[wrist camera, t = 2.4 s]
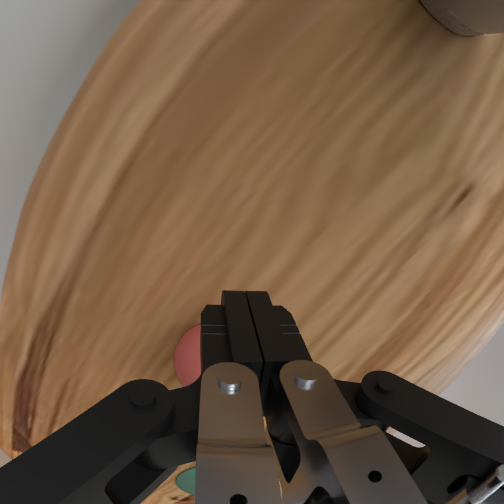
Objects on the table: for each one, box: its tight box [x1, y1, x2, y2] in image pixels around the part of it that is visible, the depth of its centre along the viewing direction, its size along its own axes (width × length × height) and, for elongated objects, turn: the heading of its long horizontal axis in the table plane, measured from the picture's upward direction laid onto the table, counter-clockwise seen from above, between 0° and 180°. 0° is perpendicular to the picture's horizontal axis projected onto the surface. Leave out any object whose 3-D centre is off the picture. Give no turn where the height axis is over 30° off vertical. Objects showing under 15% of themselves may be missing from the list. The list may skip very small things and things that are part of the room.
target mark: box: [177, 467, 196, 495], centre depth 35 cm, size 14×14×1 cm
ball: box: [174, 324, 201, 387], centre depth 21 cm, size 6×6×6 cm
